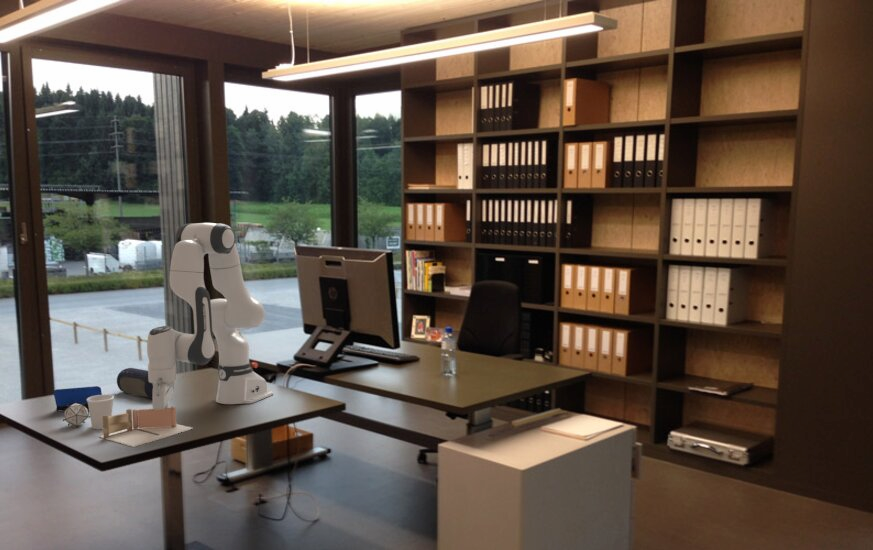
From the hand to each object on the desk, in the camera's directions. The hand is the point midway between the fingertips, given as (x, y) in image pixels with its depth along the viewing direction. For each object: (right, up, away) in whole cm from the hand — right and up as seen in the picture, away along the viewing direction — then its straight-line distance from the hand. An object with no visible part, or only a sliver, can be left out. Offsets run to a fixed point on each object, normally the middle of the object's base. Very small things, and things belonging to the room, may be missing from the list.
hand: (164, 415), depth 242 cm
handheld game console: (-40, -2, +24) cm, 46 cm away
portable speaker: (-24, 0, +41) cm, 48 cm away
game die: (-30, -4, +1) cm, 30 cm away
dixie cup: (-21, -4, 0) cm, 21 cm away
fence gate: (-2, -3, -3) cm, 5 cm away
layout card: (-3, -4, -7) cm, 9 cm away
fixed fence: (-11, -4, -9) cm, 15 cm away
